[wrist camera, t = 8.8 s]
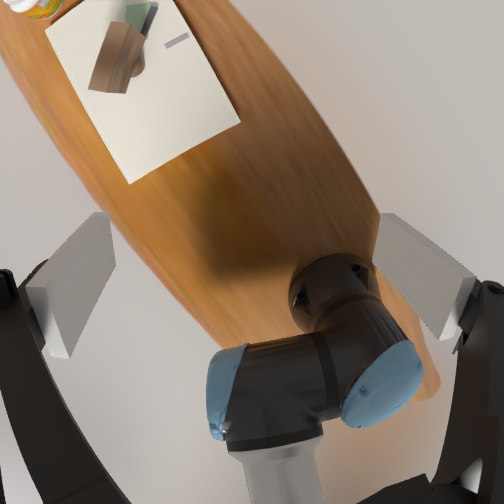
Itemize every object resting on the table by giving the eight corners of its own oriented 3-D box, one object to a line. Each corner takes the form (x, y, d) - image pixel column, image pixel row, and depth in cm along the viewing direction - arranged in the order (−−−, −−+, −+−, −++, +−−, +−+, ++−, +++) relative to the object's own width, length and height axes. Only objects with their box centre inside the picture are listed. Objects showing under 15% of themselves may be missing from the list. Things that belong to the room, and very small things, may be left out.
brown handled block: (135, 95, 33) (110, 93, 24) (113, 90, 32) (83, 88, 23) (167, 10, 28) (152, -16, 20) (144, 6, 27) (124, -19, 19)
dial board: (239, 121, 38) (240, 122, 36) (133, 180, 40) (129, 184, 38) (151, -33, 26) (148, -39, 24) (51, 32, 28) (44, 30, 26)
